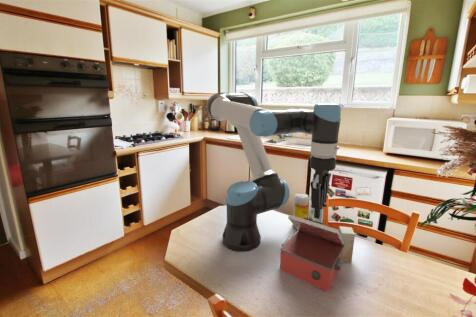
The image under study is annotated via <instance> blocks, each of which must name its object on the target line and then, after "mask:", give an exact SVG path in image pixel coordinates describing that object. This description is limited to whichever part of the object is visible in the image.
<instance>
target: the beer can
mask: <svg viewBox="0 0 476 317" xmlns="http://www.w3.org/2000/svg"><path fill="white" fill-rule="evenodd" d="M293 198H294V199H293V211H292V215H293V216H296V217H299V218H302V219H304V218H307V219H308V214H309V204H310V203H309V201H310V198H309V195H308V194H307V193H305V192H297V193H295V195H294V197H293ZM292 227H293V228H295V229H296V230H298V229H297V228H296V227H295V226H294V224H293V223H292Z"/></svg>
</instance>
